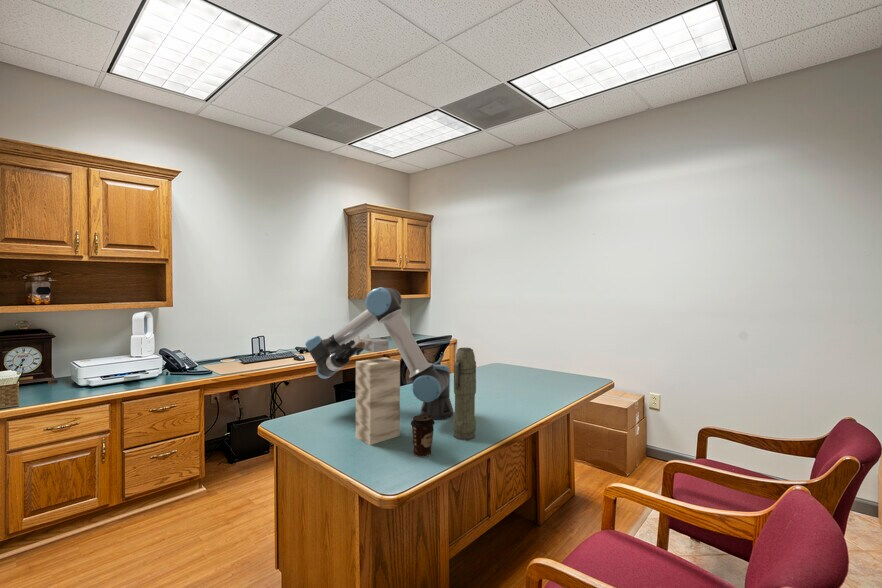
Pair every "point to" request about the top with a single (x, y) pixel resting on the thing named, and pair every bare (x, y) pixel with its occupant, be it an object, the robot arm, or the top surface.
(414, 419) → the coffee cup
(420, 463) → the top surface
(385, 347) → the hammer
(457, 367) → the thermos
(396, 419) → the pedestal
